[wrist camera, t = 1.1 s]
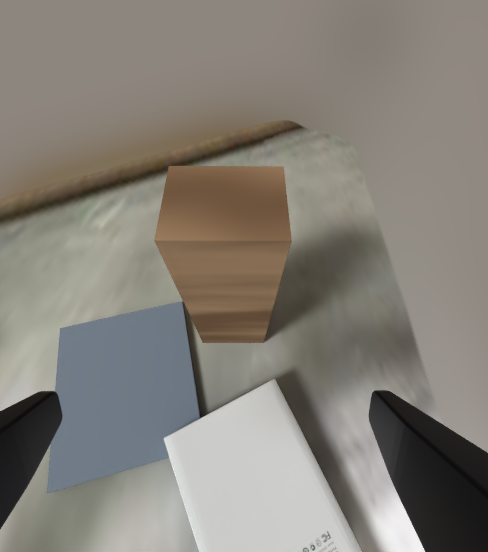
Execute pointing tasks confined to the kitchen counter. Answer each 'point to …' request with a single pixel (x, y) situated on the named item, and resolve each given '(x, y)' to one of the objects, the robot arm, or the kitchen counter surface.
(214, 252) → the walnut block
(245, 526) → the external hard drive
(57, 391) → the rubber mat
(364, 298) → the kitchen counter surface
